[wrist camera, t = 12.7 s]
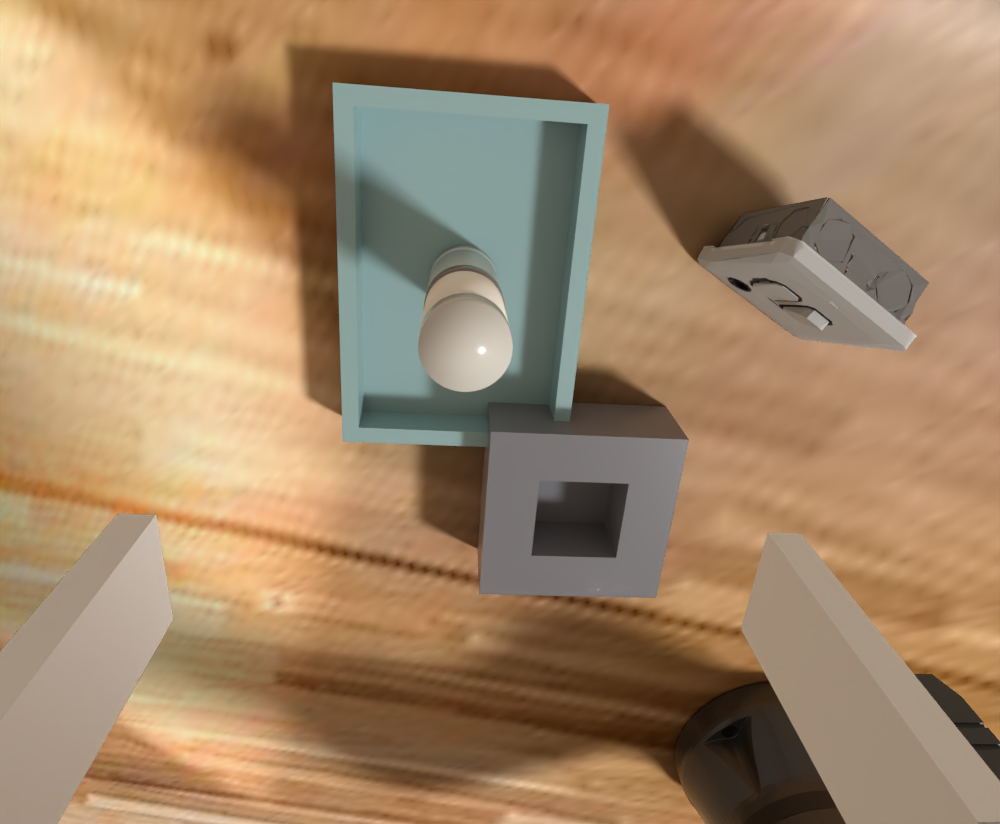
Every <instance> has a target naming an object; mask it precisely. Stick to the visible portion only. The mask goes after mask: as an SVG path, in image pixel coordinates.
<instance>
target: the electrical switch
mask: <svg viewBox="0 0 1000 824" xmlns="http://www.w3.org/2000/svg"><path fill="white" fill-rule="evenodd" d="M826 199H827V197H826V198H821V199H816V200H811V201H805V202H800V203H795V204H790V205H785V206H779V207H774V208H769V209H764V210H759V211H753V212H748V213H743V214H742V215H741V217H740V218H739V220H738V221H737V223H736V224H735V226H734V228H733V229H732V230H731V231H730V232H729V233H728V235H727V236H726V237H725V238H724V240H723V242H722V243H721V245H720V246H719V247H718V248H715V246H704V247H703V249H702V251H701V253H700V255H699V257H698V259H697V260H698V262H699V264H700V265H701V266H702V267H704V268H705V269H706V270H708V271H709V272H710V273H712V274H713V275H714V276H716V277H717V278H718V279H719V280H721V281H722V282H723V283H725V284H726V285H727V286H729V287H730V288H731V289H733V290H734V291H735V292H737V293H738V294H739V295H740V296H742V297H743V298H744V299H746V300H747V301H748V302H750V303H751V304H752V305H754V306H755V307H756V308H758V309H759V310H760V311H762V312H763V313H764V314H765V315H767V316H768V317H769V318H771V319H772V320H773V321H775V322H776V323H777V324H779V325H780V326H781V327H783V328H784V329H785V330H786V331H788V332H789V333H791V334H792V335H794V336H795V337H798V338H800V339H803V340H809V341H816V342H825V343H834V344H843V345H852V346H861V347H870V348H879V349H888V350H897V351H904V350H906V349H907V348H908V346H909V345H910V343H911V342H912V341H913V339H914V338H915V337H916V336H917V335H916V334H915V333H913V332H912V331H911V330H910V329H909V328H907V327H906V326H905V322H906V320H907V319H908V318H909V317H910V315H911V314H912V313H913V309H914V306H915V303H916V302H917V300H918V299H919V297H920V296H921V294H922V293H923V291H924V290H925V288H926V287H927V285H928V284H929V282H928V281H927V280H925V279H924V278H923V277H922V276H921V275H920V274H918V273H917V272H916V271H915V270H914V269H913V268H911V267H910V266H909V265H908V264H907V263H906V262H904V261H903V260H902V259H901V258H900V257H899V256H897V255H896V254H895V253H894V252H893V251H892V250H891V249H889V248H888V247H887V246H886V245H885V244H884V243H882V242H881V241H880V240H879V239H878V238H877V237H875V236H874V235H873V234H872V233H871V232H870V231H868V230H867V229H866V228H865V227H864V226H863V225H861V224H860V223H859V222H858V221H857V220H856V219H855V218H853V217H852V216H851V215H850V214H849V213H848V212H846V211H845V210H844V209H843V208H842V207H841V206H839V205H838V204H837V203H836V202H835V201H834V200H832V199H831V198H828V200H827V201H826ZM825 201H826V203H825ZM824 203H825V205H824ZM823 205H824V206H823ZM822 206H823V208H822ZM821 208H822V209H821ZM820 210H821V211H820ZM818 213H819V214H818ZM838 218H841V219H838ZM767 228H768V230H767V231H766V230H764V229H767ZM853 252H854V254H853ZM852 254H853V255H852ZM845 268H847V269H849V271H848V272H847V271H846V269H845ZM904 271H905V272H904ZM878 272H879V273H878ZM877 273H878V274H877ZM905 273H906V274H905ZM876 275H877V276H876ZM875 276H876V277H875ZM874 277H875V279H874Z"/></svg>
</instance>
